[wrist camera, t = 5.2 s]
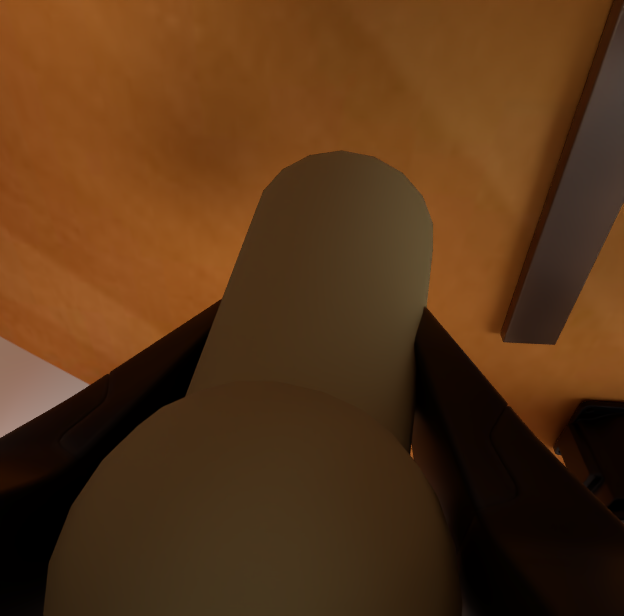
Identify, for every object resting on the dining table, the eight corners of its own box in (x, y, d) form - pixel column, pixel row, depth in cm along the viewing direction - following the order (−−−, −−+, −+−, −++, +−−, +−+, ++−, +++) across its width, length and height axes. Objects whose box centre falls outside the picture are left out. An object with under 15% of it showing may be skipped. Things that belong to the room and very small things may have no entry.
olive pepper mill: (240, 284, 14) (5, 689, 6) (273, 119, 10) (-321, 618, 2) (386, 334, 14) (375, 794, 6) (473, 192, 10) (800, 930, 2)
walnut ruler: (843, -299, 9) (876, -321, 9) (550, 336, 23) (555, 345, 22) (705, -273, 10) (727, -292, 9) (499, 333, 23) (503, 342, 23)
